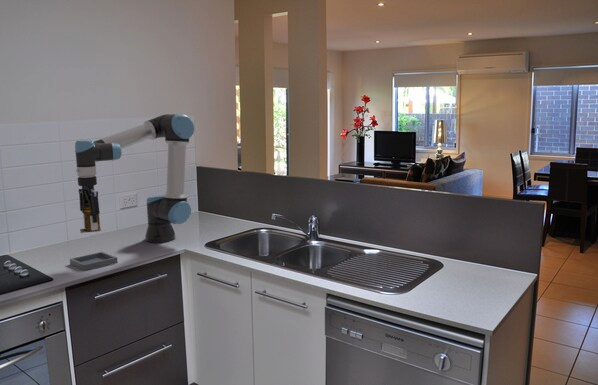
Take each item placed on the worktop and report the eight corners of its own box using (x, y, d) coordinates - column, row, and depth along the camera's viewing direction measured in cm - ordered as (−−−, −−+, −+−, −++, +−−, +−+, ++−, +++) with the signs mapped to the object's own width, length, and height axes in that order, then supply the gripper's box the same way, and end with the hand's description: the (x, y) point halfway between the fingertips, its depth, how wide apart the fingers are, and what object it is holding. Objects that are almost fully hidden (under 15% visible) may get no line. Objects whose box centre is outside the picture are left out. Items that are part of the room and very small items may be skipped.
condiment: (101, 231, 221) (99, 204, 219) (80, 233, 218) (78, 205, 216) (100, 227, 228) (98, 201, 226) (80, 229, 225) (77, 203, 223)
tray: (102, 256, 235) (102, 251, 235) (117, 262, 226) (117, 257, 225) (70, 264, 224) (69, 258, 224) (84, 270, 215) (83, 265, 215)
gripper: (68, 175, 222) (73, 226, 226) (88, 179, 210) (92, 233, 213) (85, 173, 228) (89, 223, 232) (105, 177, 215) (109, 230, 219)
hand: (91, 228), depth 223 cm, fingers closed on condiment, 6 cm apart
